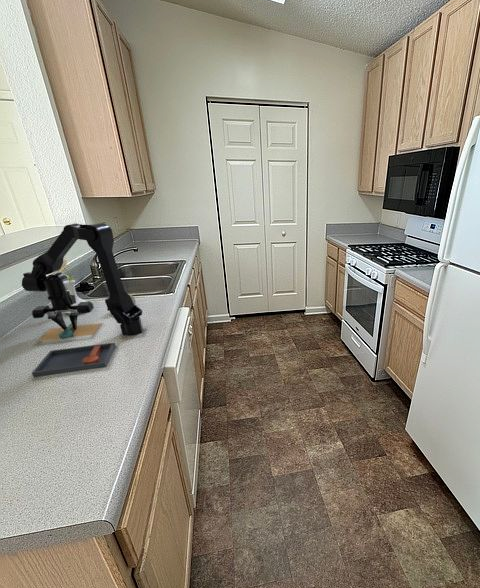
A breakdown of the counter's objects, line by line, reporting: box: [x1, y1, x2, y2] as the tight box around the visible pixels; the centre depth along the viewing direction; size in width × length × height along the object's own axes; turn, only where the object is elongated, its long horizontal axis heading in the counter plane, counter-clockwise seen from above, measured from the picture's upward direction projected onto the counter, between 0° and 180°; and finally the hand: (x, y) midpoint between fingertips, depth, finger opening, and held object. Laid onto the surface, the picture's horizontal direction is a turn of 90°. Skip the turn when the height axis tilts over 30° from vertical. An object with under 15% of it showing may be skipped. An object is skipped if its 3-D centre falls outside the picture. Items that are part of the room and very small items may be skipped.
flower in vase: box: [53, 257, 88, 315], centre depth 143 cm, size 13×11×25 cm
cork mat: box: [39, 323, 102, 342], centre depth 127 cm, size 18×14×1 cm
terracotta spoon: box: [82, 346, 102, 364], centre depth 107 cm, size 4×11×2 cm, turn 16°
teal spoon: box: [58, 323, 75, 340], centre depth 126 cm, size 4×11×2 cm, turn 16°
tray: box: [31, 342, 117, 378], centre depth 107 cm, size 20×15×2 cm
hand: (71, 330), depth 128 cm, fingers open, 3 cm apart
